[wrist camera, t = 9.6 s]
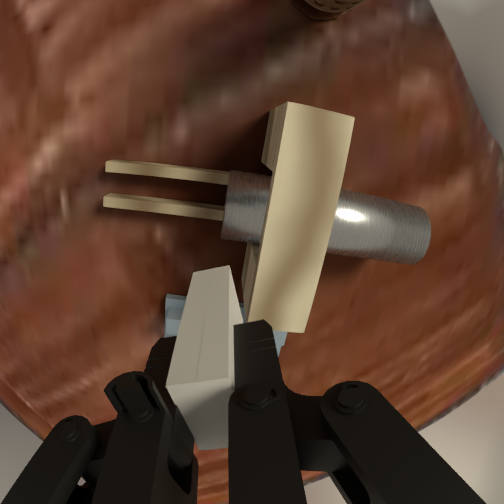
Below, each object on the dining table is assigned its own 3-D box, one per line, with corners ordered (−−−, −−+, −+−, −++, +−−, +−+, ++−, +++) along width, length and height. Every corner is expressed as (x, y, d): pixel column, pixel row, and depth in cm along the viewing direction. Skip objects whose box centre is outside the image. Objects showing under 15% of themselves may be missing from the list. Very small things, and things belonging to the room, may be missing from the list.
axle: (220, 228, 31) (220, 248, 26) (230, 167, 29) (231, 172, 24) (392, 253, 34) (420, 273, 28) (406, 201, 32) (437, 213, 26)
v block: (165, 360, 39) (161, 378, 36) (167, 293, 35) (162, 309, 32) (271, 371, 41) (275, 389, 37) (288, 307, 37) (294, 324, 34)
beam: (108, 261, 34) (75, 303, 25) (120, 94, 27) (81, 83, 18) (384, 293, 38) (421, 336, 29) (423, 150, 32) (477, 161, 23)
